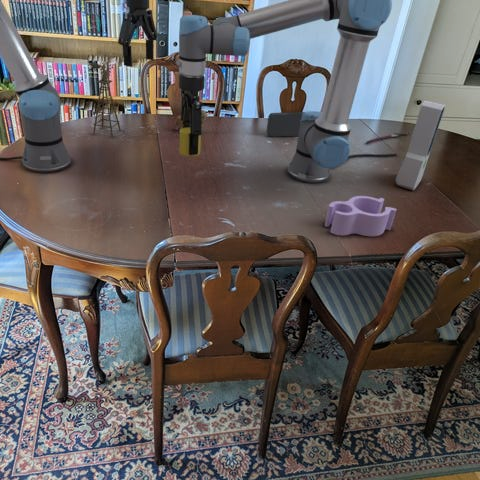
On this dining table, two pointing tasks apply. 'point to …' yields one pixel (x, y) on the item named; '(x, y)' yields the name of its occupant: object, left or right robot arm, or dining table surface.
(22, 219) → the dining table surface
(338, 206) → the clip
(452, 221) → the dining table surface
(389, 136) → the sword
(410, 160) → the electronic device
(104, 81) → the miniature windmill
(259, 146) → the dining table surface
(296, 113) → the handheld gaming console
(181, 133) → the tin
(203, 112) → the lion figurine
